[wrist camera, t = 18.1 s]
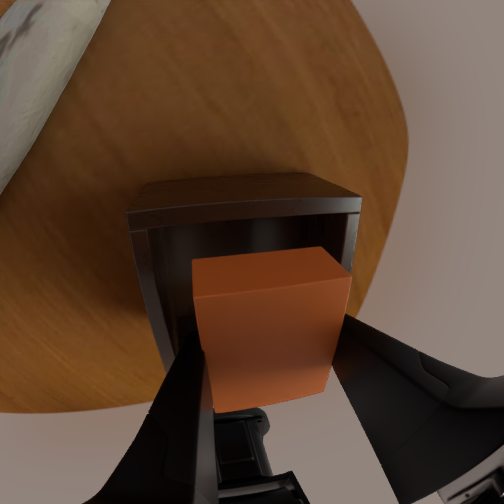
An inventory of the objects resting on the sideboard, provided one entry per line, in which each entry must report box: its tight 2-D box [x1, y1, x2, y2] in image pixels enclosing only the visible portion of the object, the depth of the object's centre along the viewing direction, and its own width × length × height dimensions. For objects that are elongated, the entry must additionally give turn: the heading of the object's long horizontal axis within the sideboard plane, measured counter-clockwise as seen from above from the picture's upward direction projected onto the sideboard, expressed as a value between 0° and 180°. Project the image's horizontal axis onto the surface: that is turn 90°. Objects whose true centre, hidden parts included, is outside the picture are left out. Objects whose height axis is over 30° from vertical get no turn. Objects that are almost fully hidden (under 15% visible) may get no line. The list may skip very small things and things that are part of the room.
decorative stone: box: [0, 0, 111, 194], centre depth 6 cm, size 6×16×3 cm, turn 145°
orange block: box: [192, 246, 352, 413], centre depth 8 cm, size 5×4×2 cm
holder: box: [126, 174, 362, 374], centre depth 12 cm, size 8×8×4 cm
